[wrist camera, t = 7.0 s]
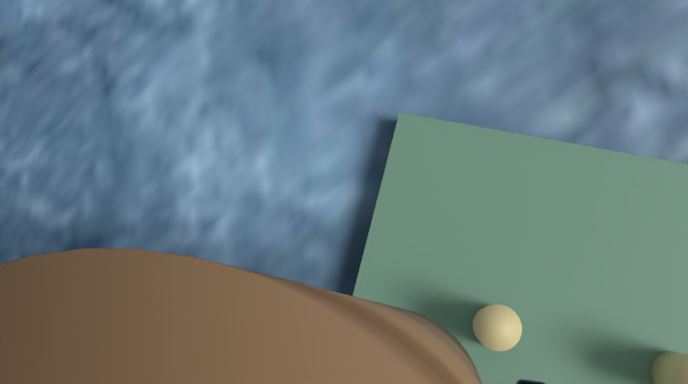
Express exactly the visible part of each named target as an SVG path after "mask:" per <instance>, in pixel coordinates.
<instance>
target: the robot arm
mask: <svg viewBox="0 0 688 384" xmlns="http://www.w3.org/2000/svg"><path fill="white" fill-rule="evenodd" d="M516 384H545V383H544V382H539V381H532V380H525V379H520V380H518V381H517V383H516Z"/></svg>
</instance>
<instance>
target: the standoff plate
mask: <svg viewBox="0 0 688 384" xmlns="http://www.w3.org/2000/svg"><path fill="white" fill-rule="evenodd" d="M353 296H354V297H358V298H362V299H366V300H370V301H374V302H378V303H382V304H387V305H391V306H395V307H399V308H403V309H407V310H410V311H414V312H417V313H420V314H422V315H424V316H427V317H429V318H431V319H433V320H434V321H436V322H437V323H439V324H441V325H442V326H443V327H444V328H446V329H447V330H448V331H449V332H451V333H452V334H453V335H454V336H455V337H456V338H457V339H458V341H459V342H460V343H461V344H462V346H463V347H464V348H465V350H466V351H467V352H468V354H469V356H470V357H471V359H472V361H473V363H474V365H475V367H476V369H477V372H478V374H479V376H480V378H481V381H482V383H483V384H516V383H517V381H518V380H520V379H525V380H532V381H539V382H544V383H545V384H688V164H683V163H678V162H672V161H667V160H661V159H656V158H650V157H645V156H639V155H633V154H628V153H622V152H617V151H611V150H606V149H600V148H595V147H589V146H584V145H578V144H573V143H567V142H561V141H556V140H550V139H545V138H539V137H534V136H528V135H523V134H517V133H512V132H506V131H501V130H495V129H490V128H484V127H478V126H473V125H467V124H462V123H456V122H451V121H445V120H440V119H434V118H429V117H423V116H418V115H412V114H407V113H401V112H399V116H398V120H397V124H396V128H395V131H394V135H393V139H392V143H391V147H390V151H389V155H388V159H387V163H386V167H385V171H384V175H383V178H382V182H381V186H380V190H379V194H378V198H377V202H376V206H375V210H374V214H373V218H372V222H371V226H370V229H369V233H368V237H367V241H366V245H365V249H364V253H363V257H362V261H361V265H360V269H359V273H358V277H357V280H356V284H355V288H354V292H353Z"/></svg>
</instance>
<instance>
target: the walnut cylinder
mask: <svg viewBox="0 0 688 384" xmlns="http://www.w3.org/2000/svg"><path fill="white" fill-rule="evenodd" d="M0 384H483V383H482V381H481V378H480V376H479V374H478V372H477V369H476V367H475V365H474V363H473V361H472V359H471V357H470V356H469V354H468V352H467V351H466V350H465V348H464V347H463V346H462V344H461V343H460V342H459V341H458V339H457V338H456V337H455V336H454V335H453V334H452V333H451V332H449V331H448V330H447V329H446V328H444V327H443V326H442V325H441V324H439V323H437V322H436V321H434V320H433V319H431V318H429V317H427V316H424V315H422V314H420V313H417V312H414V311H410V310H407V309H403V308H399V307H395V306H391V305H387V304H382V303H378V302H374V301H370V300H366V299H362V298H358V297H354V296H350V295H346V294H342V293H338V292H334V291H330V290H326V289H322V288H317V287H313V286H309V285H305V284H301V283H297V282H293V281H289V280H285V279H281V278H277V277H273V276H269V275H265V274H261V273H257V272H252V271H248V270H244V269H240V268H236V267H232V266H228V265H224V264H220V263H216V262H212V261H208V260H204V259H200V258H196V257H189V256H182V255H176V254H169V253H163V252H156V251H150V250H143V249H76V250H69V251H62V252H55V253H48V254H41V255H33V256H28V257H24V258H21V259H17V260H14V261H10V262H7V263H3V264H0Z"/></svg>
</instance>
